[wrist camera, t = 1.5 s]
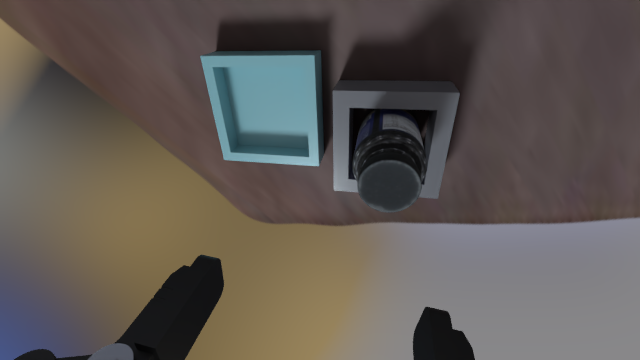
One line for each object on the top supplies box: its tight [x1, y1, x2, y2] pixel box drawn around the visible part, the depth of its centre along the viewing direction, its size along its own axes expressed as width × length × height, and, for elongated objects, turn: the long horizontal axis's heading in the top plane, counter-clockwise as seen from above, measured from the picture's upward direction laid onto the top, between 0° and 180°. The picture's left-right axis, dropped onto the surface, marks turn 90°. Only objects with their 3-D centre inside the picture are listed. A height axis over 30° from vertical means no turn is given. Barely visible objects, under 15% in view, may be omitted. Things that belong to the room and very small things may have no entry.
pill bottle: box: [352, 109, 427, 212], centre depth 26 cm, size 6×6×11 cm
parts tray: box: [200, 50, 324, 166], centre depth 31 cm, size 11×11×3 cm
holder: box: [333, 80, 460, 199], centre depth 29 cm, size 10×10×4 cm
